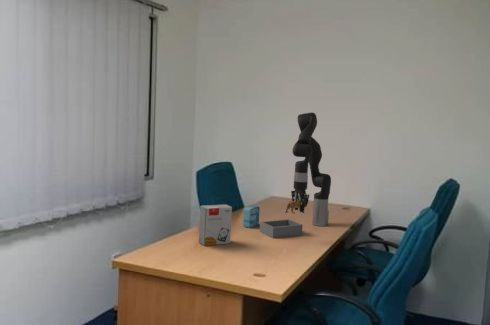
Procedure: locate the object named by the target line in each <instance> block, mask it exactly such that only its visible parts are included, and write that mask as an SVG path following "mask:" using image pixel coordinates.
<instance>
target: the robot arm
mask: <svg viewBox="0 0 490 325" xmlns="http://www.w3.org/2000/svg"><path fill="white" fill-rule="evenodd" d="M297 123H298V128H299V130H300V133H299V134H298V138H297V141H296V142H295V143H294V145H293V147H292V154H293V156H295V157H296V158H304V159H303V160H298V161H295V165H294V175H293V189H294V190H291V191H290V192H291V201H295V202H298V201H300V204H301V205H300V212H299V213H302V212H304V213H305V207H304V206H305V205H307V206H308V204H309V201H308V200H309V199H310V194H307V193H306V192H307V191H306V190H308V184H309V183H308V181H309V176H308V174H309V171H308V170H310V176H311V182H312V185H313V187H316V188H321V189H320V191H318V192H315V193H314V194H313V207H312V209H313V210H312V222H311V224H312V225H313V226H317V227H326V226H329V218H330V217H329V216H330V211H329V197H330V193H331V186H332V178H331V175H330V174H327V173H323V172H322V173H321V172H320V163H321V160H322V157H323V154H322V148H321V144H320V143H319V142H318V141H317V140H316V139H315V138H314V137H313V134H314V132H315V130H316V128H317V125H318V118H317V113H315V112H307V113H305V112H304V113H302V114H301V113H300V114H298V115H297ZM309 168H310V169H309ZM302 201H303V203H302ZM305 201H306V202H305ZM307 203H308V204H307ZM294 210H295V211H299V208H295V207H294Z"/></svg>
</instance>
